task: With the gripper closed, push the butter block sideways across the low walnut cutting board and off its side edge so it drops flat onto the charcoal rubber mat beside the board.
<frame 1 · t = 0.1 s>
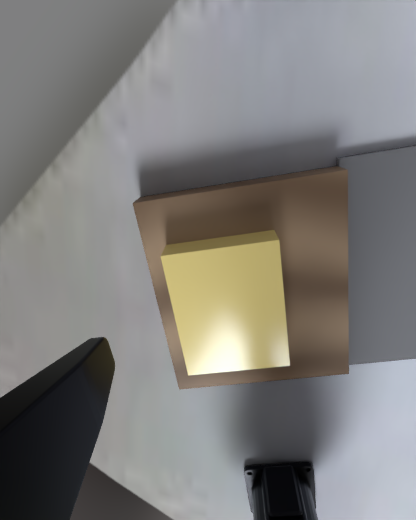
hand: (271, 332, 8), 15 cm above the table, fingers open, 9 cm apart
butter block: (229, 306, 21), point 3 cm above the table, touching cutting block
cutting block: (248, 283, 24), on the table
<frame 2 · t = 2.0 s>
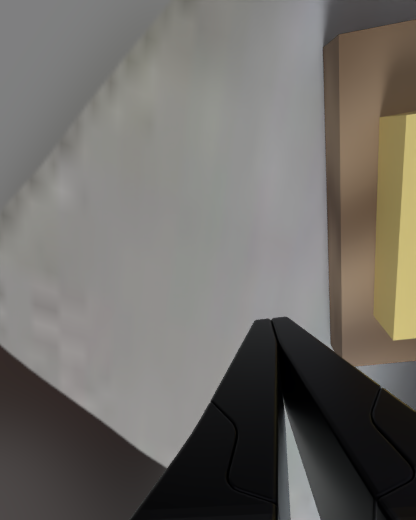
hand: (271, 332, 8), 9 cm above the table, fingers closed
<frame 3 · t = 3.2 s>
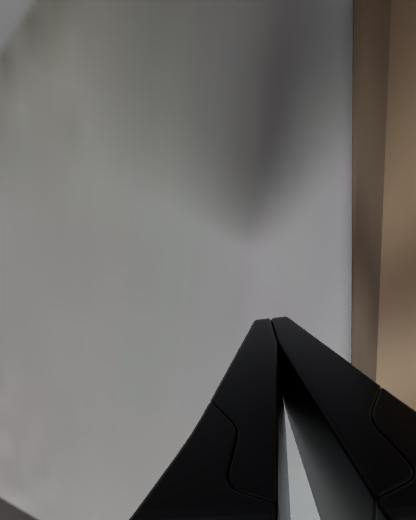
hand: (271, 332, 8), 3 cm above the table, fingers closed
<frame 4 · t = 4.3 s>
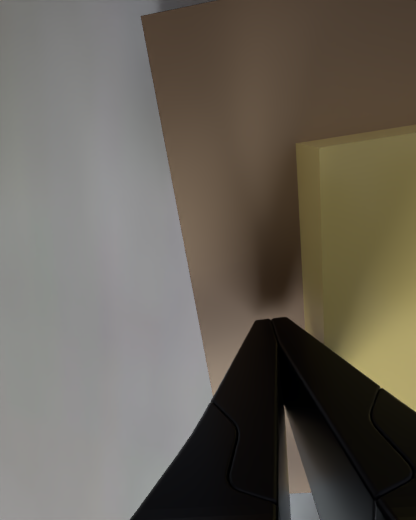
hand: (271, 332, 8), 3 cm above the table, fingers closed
cutting block: (400, 271, 11), on the table
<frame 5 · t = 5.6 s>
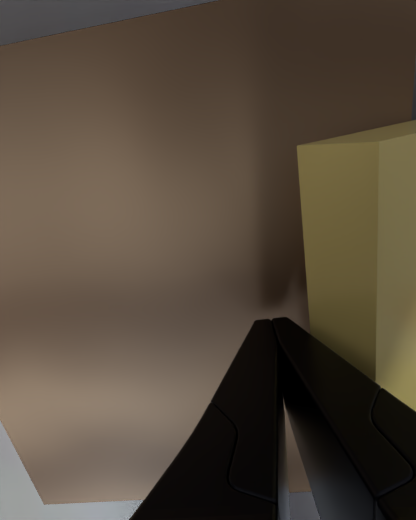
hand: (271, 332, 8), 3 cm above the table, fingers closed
cutting block: (175, 296, 11), on the table
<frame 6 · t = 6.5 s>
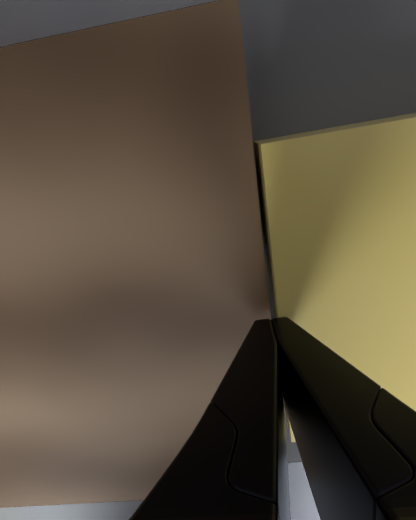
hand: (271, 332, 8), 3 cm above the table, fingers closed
butter block: (398, 287, 9), point 1 cm above the table, touching mat
cutting block: (82, 307, 12), on the table
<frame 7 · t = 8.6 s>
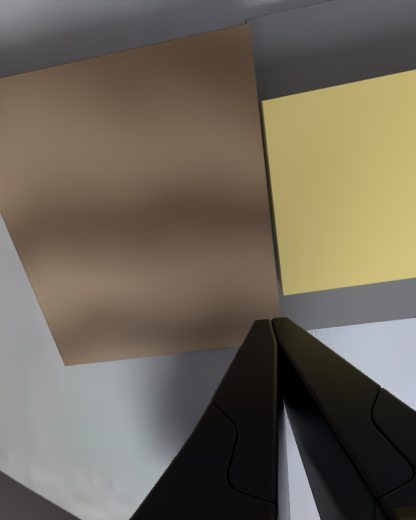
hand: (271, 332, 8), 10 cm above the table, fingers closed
mat: (414, 178, 16), on the table
butter block: (345, 191, 15), point 1 cm above the table, touching mat
cutting block: (146, 220, 18), on the table
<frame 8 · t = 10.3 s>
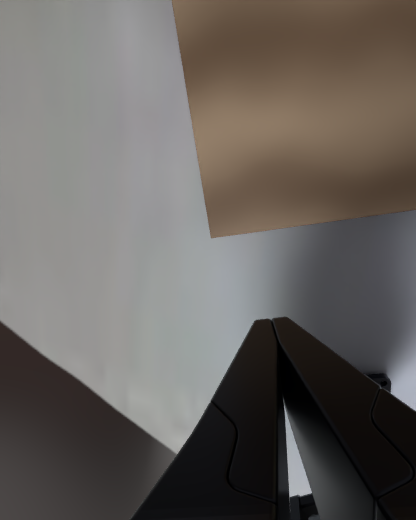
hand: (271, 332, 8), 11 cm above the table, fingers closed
cutting block: (322, 59, 16), on the table
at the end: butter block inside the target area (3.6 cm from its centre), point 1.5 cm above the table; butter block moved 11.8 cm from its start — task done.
